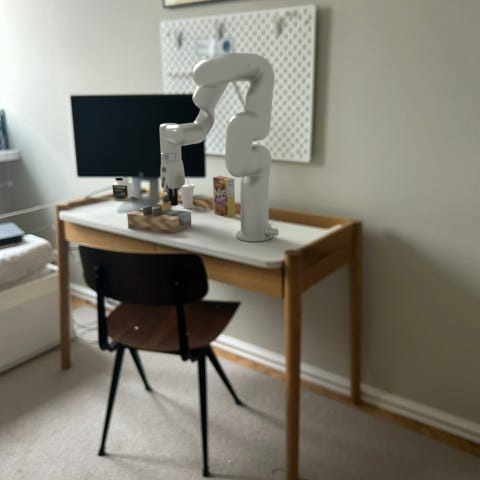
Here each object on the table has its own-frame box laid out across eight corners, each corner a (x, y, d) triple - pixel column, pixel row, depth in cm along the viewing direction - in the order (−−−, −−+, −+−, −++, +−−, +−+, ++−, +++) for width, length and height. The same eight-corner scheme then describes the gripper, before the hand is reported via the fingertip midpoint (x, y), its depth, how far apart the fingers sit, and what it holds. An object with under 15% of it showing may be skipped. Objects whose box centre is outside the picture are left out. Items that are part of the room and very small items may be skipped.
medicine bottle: (113, 199, 236) (111, 173, 233) (119, 196, 243) (117, 170, 239) (128, 200, 235) (126, 173, 231) (133, 196, 242) (131, 171, 238)
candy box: (213, 213, 210) (212, 176, 205) (221, 212, 213) (220, 175, 208) (227, 217, 204) (226, 179, 199) (235, 216, 206) (235, 178, 202)
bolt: (171, 208, 195) (170, 194, 193) (161, 212, 190) (161, 198, 188) (165, 208, 196) (165, 194, 194) (156, 211, 191) (155, 197, 189)
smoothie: (192, 209, 217) (191, 176, 212) (178, 209, 218) (176, 176, 214) (197, 206, 223) (195, 173, 218) (182, 205, 224) (181, 173, 220)
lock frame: (191, 226, 192) (190, 203, 190) (173, 234, 182) (172, 211, 180) (147, 220, 201) (146, 198, 199) (128, 227, 191) (126, 205, 188)
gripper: (167, 160, 184) (170, 210, 190) (190, 155, 197) (192, 202, 203) (150, 159, 188) (153, 208, 193) (174, 154, 200) (176, 200, 206)
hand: (173, 205), depth 198 cm, fingers closed
